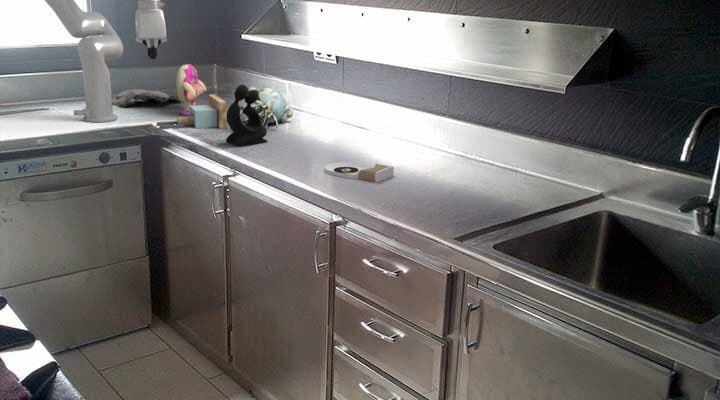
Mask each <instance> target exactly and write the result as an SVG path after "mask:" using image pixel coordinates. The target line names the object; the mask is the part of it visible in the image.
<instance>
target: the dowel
mask: <svg viewBox="0 0 720 400" xmlns="http://www.w3.org/2000/svg"><path fill="white" fill-rule="evenodd" d="M176 121H177V124H184V125H185V127H189V126H190V125H194V116H176ZM190 127H191V126H190Z"/></svg>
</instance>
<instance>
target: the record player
mask: <svg viewBox="0 0 720 400" xmlns="http://www.w3.org/2000/svg"><path fill="white" fill-rule="evenodd" d="M394 171H395V169H394V166H391V165H385V164H378V163H376V164H375V165H374V166H370V165H366V164H362V163H361V164H360V163H354V162H346V161H345V162H342V161H341V162H334V163H329V164H326V165H325V166H324V173H326V174H329V175H331V176H337V177H342V178H347V179H360V180H364V181H369V182H374V183H380V182H381V181H383V180H386V179H388V178H391V177H393V176H394Z"/></svg>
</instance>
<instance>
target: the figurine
mask: <svg viewBox="0 0 720 400" xmlns="http://www.w3.org/2000/svg"><path fill="white" fill-rule="evenodd" d="M248 88H249V87H248V86H247V85H245V84H240V85H239V84H238V86H237V87H236V88H235V89H234V95H233V96H234V102H232V104H230V105H229V107H228V108H227V110H226V117H227V126H229V128H230V130H231V131H232V132H231V133H230V134H229V135H228V136H227V137H226V139H225V142H226V143H228V144H231V145H235V146H237V147H243V146H250V145H256V144H262V143H267V142H268V140H267V139H266V138H264V137H266V135H267V133H268V129H266V128H265V126H264V125H265V124H264V125H263V123H262V122H261V118H260V115H259V113H258V112H257V110H255V109H254V108H253V107H251V104H252V103H254V102H256V101H257V100H260V98H259V92H258V90H257V89H256V90H254V89H253V90H250V91H248ZM243 100H244V102H245V103H246V105H247V106H246V105H245V106H246V107H245V108H244V109H243V110H240V107H241V105H239V102H241V101H243ZM241 111H242V112H241ZM240 113H244V114H245V115H244V116H246V118H247V117H248V120H247V121H246V122H247V123H246V122H245V124H244V123H243V120H242V119H241V117H240Z"/></svg>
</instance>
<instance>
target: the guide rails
mask: <svg viewBox="0 0 720 400" xmlns="http://www.w3.org/2000/svg"><path fill="white" fill-rule="evenodd" d="M174 124H176V125H174ZM156 127H159V130H170V129H169V128H174V129H185V128H186V126H185V125H184V124H177V120H173V121H171V120H170V121H159V122H156Z"/></svg>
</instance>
